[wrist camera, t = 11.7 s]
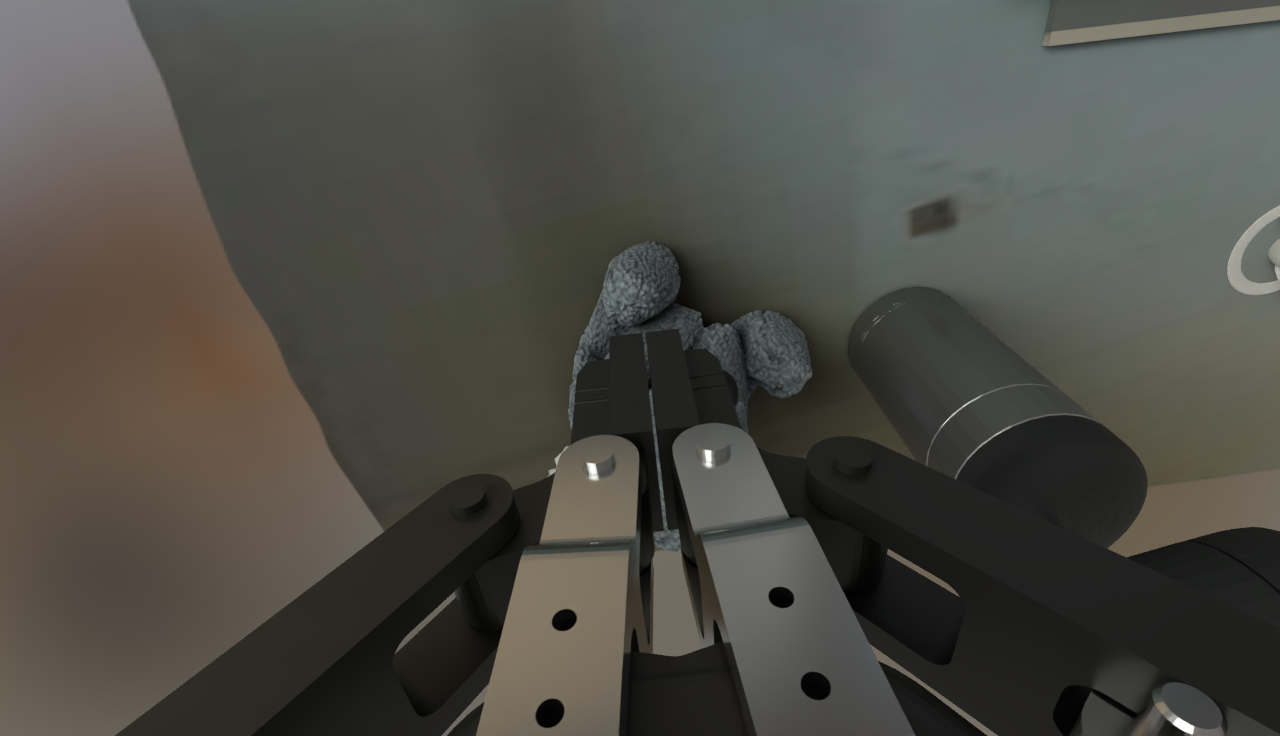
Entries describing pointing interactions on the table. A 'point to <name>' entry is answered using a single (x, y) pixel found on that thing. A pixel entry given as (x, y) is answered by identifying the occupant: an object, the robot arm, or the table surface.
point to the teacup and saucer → (1276, 254)
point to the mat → (1147, 17)
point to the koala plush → (690, 339)
